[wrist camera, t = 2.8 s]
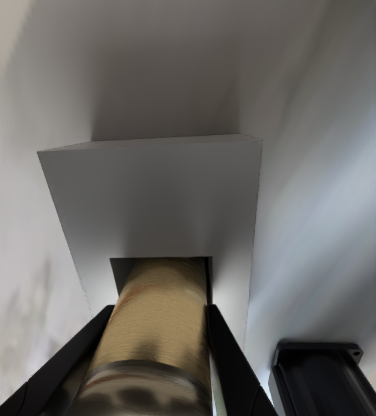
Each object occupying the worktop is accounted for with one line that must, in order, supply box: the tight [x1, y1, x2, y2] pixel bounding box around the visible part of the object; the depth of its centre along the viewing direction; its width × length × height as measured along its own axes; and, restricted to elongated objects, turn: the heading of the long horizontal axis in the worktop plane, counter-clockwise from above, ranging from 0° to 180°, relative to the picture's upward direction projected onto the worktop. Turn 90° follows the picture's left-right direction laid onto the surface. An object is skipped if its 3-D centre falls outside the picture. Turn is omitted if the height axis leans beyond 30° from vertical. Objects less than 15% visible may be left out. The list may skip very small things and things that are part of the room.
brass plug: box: [67, 256, 213, 416], centre depth 9 cm, size 4×4×8 cm
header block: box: [37, 134, 263, 381], centre depth 12 cm, size 8×14×4 cm, turn 3°
